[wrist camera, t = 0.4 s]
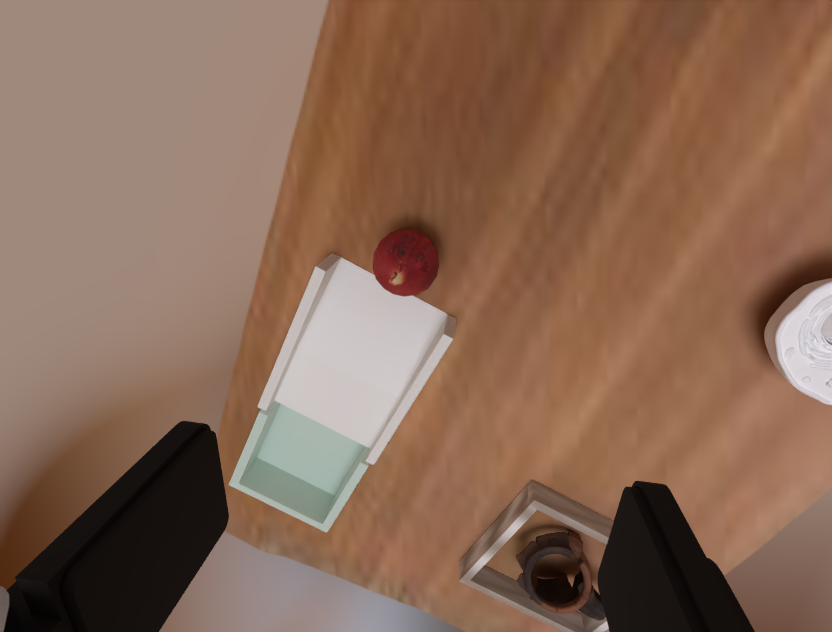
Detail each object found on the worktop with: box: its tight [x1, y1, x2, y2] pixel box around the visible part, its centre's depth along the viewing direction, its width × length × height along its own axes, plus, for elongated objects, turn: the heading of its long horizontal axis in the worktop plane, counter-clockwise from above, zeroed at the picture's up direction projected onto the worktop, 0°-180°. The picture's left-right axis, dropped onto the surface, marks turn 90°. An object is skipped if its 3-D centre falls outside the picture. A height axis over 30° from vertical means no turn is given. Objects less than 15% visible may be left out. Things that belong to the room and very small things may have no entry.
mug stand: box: [459, 480, 614, 632], centre depth 53 cm, size 17×19×3 cm
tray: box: [229, 401, 370, 533], centre depth 51 cm, size 12×13×5 cm
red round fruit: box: [373, 229, 439, 297], centre depth 38 cm, size 6×6×8 cm
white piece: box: [258, 253, 456, 465], centre depth 45 cm, size 18×14×6 cm
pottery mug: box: [516, 531, 606, 621], centre depth 52 cm, size 12×10×8 cm
